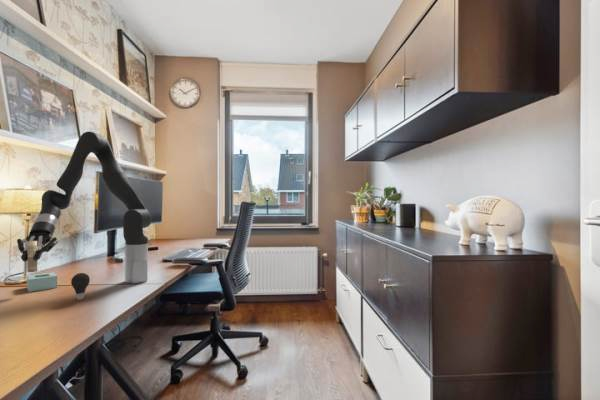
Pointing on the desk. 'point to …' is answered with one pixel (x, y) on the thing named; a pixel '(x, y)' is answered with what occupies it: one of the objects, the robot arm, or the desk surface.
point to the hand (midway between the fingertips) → (29, 259)
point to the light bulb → (80, 284)
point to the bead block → (41, 281)
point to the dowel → (31, 256)
